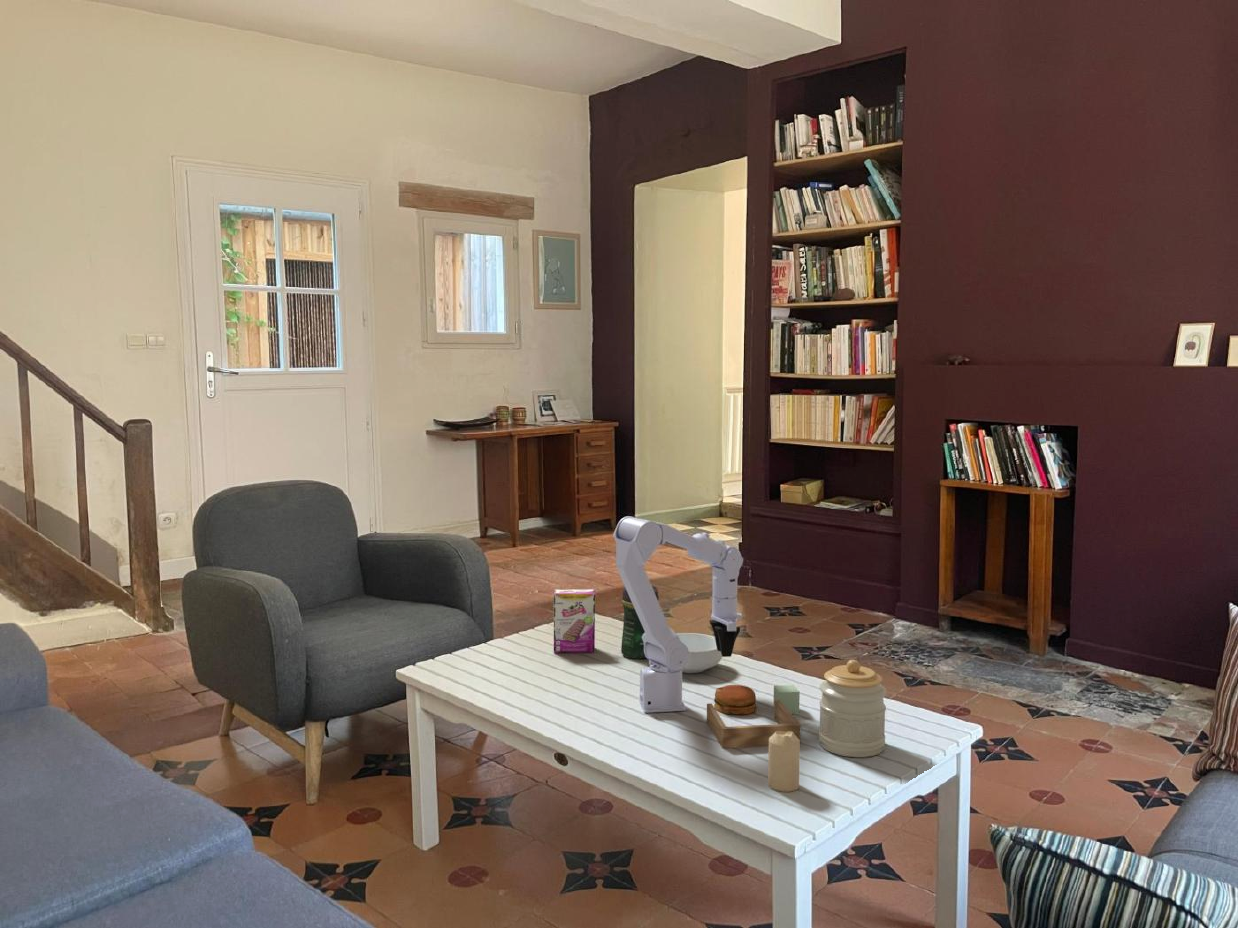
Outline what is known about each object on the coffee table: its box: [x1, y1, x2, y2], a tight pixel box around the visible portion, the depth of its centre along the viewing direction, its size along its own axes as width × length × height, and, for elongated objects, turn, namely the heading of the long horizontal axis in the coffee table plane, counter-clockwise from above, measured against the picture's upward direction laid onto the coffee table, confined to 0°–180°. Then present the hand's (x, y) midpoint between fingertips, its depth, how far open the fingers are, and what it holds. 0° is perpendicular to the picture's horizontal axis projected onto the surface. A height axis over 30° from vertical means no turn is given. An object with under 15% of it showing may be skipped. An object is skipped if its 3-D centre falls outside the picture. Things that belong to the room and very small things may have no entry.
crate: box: [706, 700, 802, 749], centre depth 196 cm, size 16×14×4 cm
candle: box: [767, 731, 801, 793], centre depth 171 cm, size 6×6×10 cm
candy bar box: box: [553, 588, 596, 654], centre depth 254 cm, size 11×5×16 cm, turn 94°
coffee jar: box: [620, 585, 660, 659], centre depth 250 cm, size 10×8×19 cm
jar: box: [818, 659, 887, 758], centre depth 189 cm, size 13×13×18 cm
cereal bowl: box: [675, 632, 723, 674], centre depth 239 cm, size 17×17×7 cm
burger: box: [713, 684, 757, 716], centre depth 211 cm, size 10×9×5 cm
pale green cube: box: [773, 684, 801, 715], centre depth 209 cm, size 4×4×5 cm
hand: (724, 653), depth 220 cm, fingers open, 4 cm apart
